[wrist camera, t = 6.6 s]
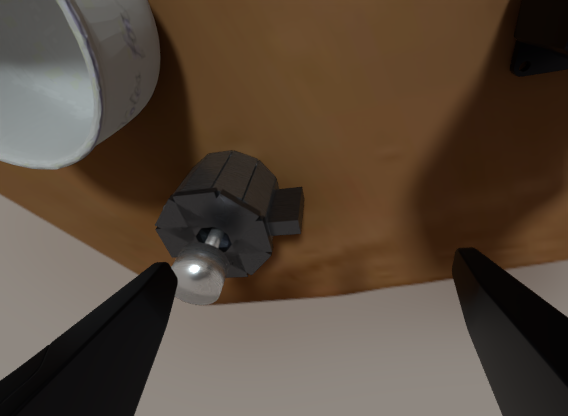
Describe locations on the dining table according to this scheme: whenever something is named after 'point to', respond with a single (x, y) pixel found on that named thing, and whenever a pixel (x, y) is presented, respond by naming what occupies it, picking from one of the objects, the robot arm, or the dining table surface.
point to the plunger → (201, 270)
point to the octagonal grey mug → (231, 210)
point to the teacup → (72, 76)
